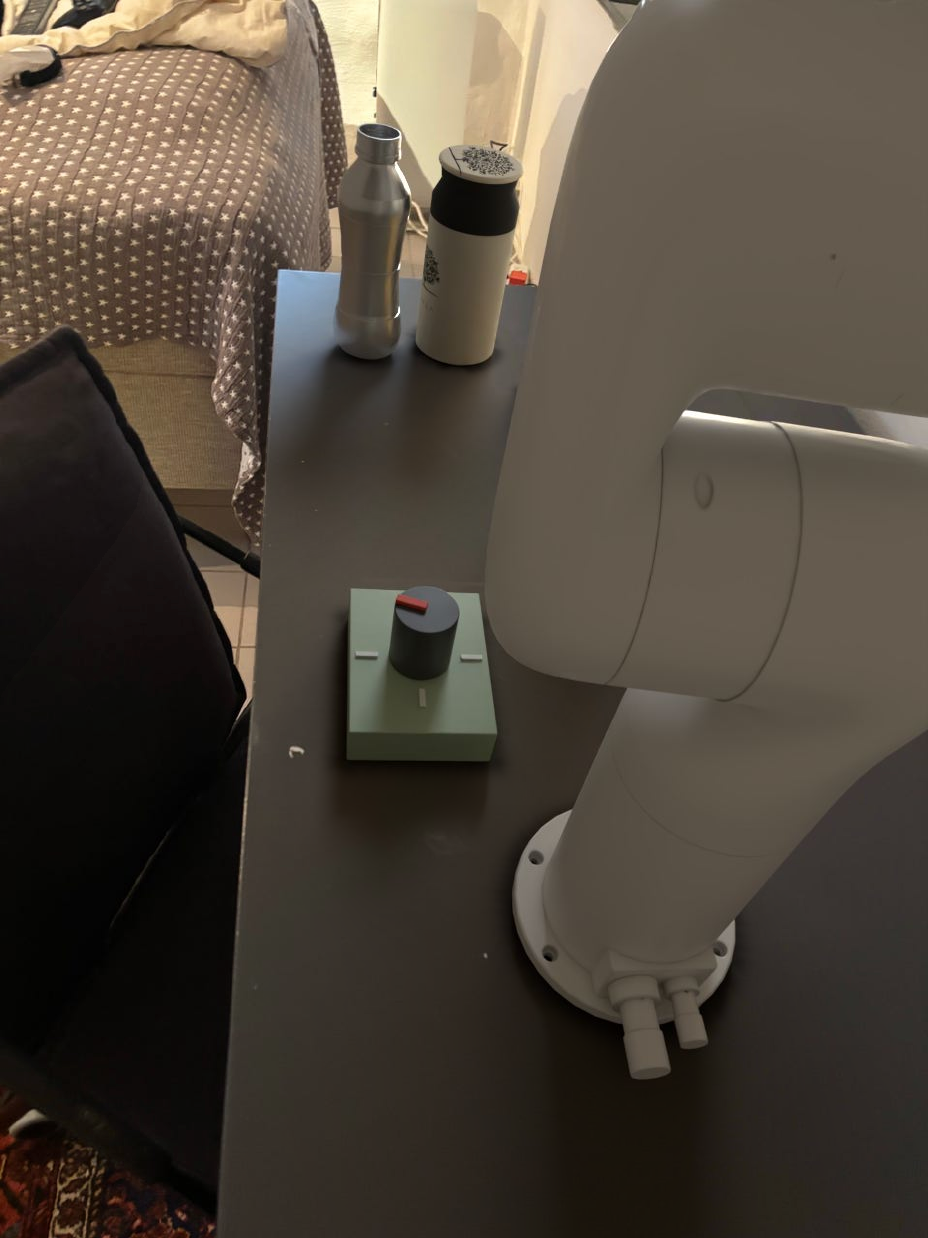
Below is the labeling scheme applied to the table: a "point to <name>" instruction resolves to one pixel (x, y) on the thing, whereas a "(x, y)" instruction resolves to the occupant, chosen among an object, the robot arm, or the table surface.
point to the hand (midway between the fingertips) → (597, 383)
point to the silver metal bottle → (371, 244)
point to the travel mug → (467, 253)
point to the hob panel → (416, 690)
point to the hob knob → (423, 632)
